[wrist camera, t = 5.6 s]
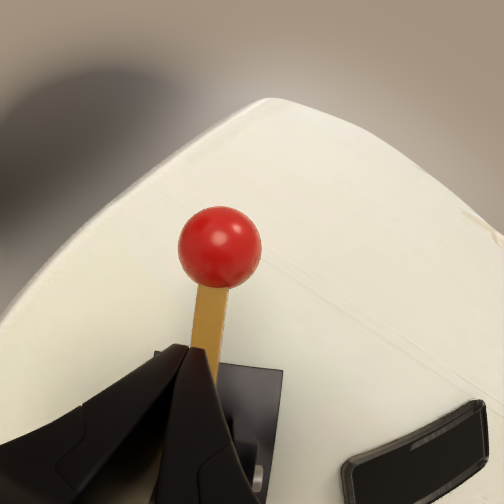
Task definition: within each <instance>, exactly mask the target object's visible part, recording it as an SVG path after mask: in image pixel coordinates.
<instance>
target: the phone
mask: <svg viewBox="0 0 504 504" xmlns="http://www.w3.org/2000/svg"><path fill="white" fill-rule="evenodd" d="M488 458H489V438H488V423H487V413H486V405H485V402H484V401H483V400H472V401H469V402H468V403H466V404H465V405H463V406H461V407H460V408H458V409H456V410H455V411H453V412H451V413H449V414H448V415H446V416H444V417H442V418H440V419H439V420H437V421H435V422H433V423H431V424H429V425H427V426H425V427H423V428H421V429H419V430H417V431H415V432H413V433H411V434H409V435H407V436H404V437H402V438H400V439H398V440H395V441H393V442H391V443H388V444H386V445H383V446H381V447H379V448H376V449H373V450H371V451H368V452H365V453H363V454H360V455H357V456H354V457H352V458H350V459H349V460H347V461H346V462H345V464H344V465H343V467H342V470H341V475H342V482H343V489H344V496H345V503H346V504H431V503H433V502H434V501H436V500H438V499H439V498H441V497H443V496H444V495H446V494H447V493H449V492H450V491H452V490H453V489H455V488H456V487H458V486H459V485H461V484H462V483H464V482H465V481H466V480H468V479H469V478H471V477H472V476H473V475H475V474H476V473H477V472H479V471H480V470H481V469H482V468H483V467H484V466H485V465H486V463H487V461H488Z"/></svg>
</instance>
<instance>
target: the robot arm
mask: <svg viewBox="0 0 504 504" xmlns="http://www.w3.org/2000/svg"><path fill="white" fill-rule="evenodd" d="M157 478H158V481H157ZM156 481H157V488H156V496H155V503H154V504H261V503H260V502H259V500H258V498H257V497H256V495H255V493H254V491H253V489H252V487H251V486H250V484H249V482H248V480H247V478H246V476H245V473H244V471H243V469H242V466H241V464H240V461H239V459H238V456H237V453H236V450H235V447H234V444H232V439H231V436H230V433H229V429H228V426H227V423H226V420H225V417H224V413H223V410H222V407H221V404H220V400H219V397H218V393H217V390H216V387H215V383H214V380H213V376H212V372H211V369H210V365H209V362H208V358H207V354H206V351H205V349H203V348H197V347H190V348H189V347H188V346H186V345H181V344H172V345H171V346H169V347H168V348H166V349H165V350H164V351H162V352H161V353H159V354H158V355H156V356H155V357H153V358H152V359H150V360H149V361H147V362H146V363H144V364H143V365H141V366H140V367H138V368H137V369H135V370H134V371H132V372H131V373H129V374H128V375H126V376H125V377H123V378H122V379H120V380H119V381H117V382H116V383H114V384H113V385H111V386H109V387H108V388H106V389H105V390H103V391H102V392H100V393H99V394H97V395H96V396H94V397H92V398H91V399H89V400H88V401H86V402H85V403H83V404H82V406H81V405H80V406H78V407H76V408H75V409H73V410H72V411H70V412H68V413H67V414H65V415H63V416H62V417H60V418H58V419H56V420H55V421H53V422H51V423H49V424H47V425H45V426H43V427H41V428H39V429H37V430H35V431H32V432H30V433H28V434H25V435H23V436H21V437H18V438H16V439H14V440H11V441H9V442H7V443H4V444H2V445H0V504H148V503H149V500H150V497H151V495H152V492H153V489H154V486H155V484H156Z"/></svg>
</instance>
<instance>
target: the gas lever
mask: <svg viewBox="0 0 504 504" xmlns="http://www.w3.org/2000/svg"><path fill="white" fill-rule="evenodd" d="M261 249H262V248H261V239H260V235H259V233H258V230H257V228H256V226H255V225H254V224H253V222H252V221H251V220H250V219H249V218H248V217H247V216H246V215H244V214H243V213H241V212H240V211H238V210H236V209H233V208H230V207H224V206H216V207H210V208H207V209H204V210H202V211H200V212H198V213H196V214H195V215H194V216H193V217H191V218H190V219H189V220H188V222H187V223H186V224H185V226H184V227H183V229H182V231H181V234H180V237H179V241H178V254H179V259H180V263H181V265H182V267H183V269H184V271H185V272H186V274H187V275H188V276H189V277H190V278H191V279H192V280H193V281H194V282H196V283H197V284H198V290H197V297H196V305H195V312H194V320H193V329H192V337H191V346H190V347H197V348H203V349H205V351H206V354H207V358H208V362H209V365H210V369H211V372H212V376H213V380H214V383H215V387H216V385H217V377H218V369H219V361H220V353H221V345H222V338H223V330H224V322H225V315H226V307H227V300H228V293H229V289H231V288H234V287H237V286H239V285H241V284H242V283H244V282H245V281H246V280H247V279H249V278H250V277H251V275H252V274H253V273H254V271H255V270H256V268H257V266H258V264H259V261H260V257H261Z"/></svg>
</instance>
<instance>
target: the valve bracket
mask: <svg viewBox="0 0 504 504" xmlns="http://www.w3.org/2000/svg"><path fill="white" fill-rule="evenodd" d="M159 353H161V352H160V351H155V352H154V357H155V356H156V355H158V354H159ZM282 379H283V370H276V369H267V368H258V367H249V366H241V365H234V364H227V363H220V362H219V369H218V377H217V385H216V390H217V393H218V397H219V400H220V404H221V407H222V410H223V413H224V417H225V420H226V423H227V426H228V429H229V433H230V436H231V439H232V444H234V447H235V450H236V453H237V456H238V459H239V461H240V464H241V466H242V469H243V471H244V473H245V476H246V478H247V480H248V482H249V484H250V486H251V487H252V489H253V491H254V493H255V495H256V497H257V498H258V500H259V502H260V503H261V504H266V497H267V491H268V485H269V479H270V472H271V465H272V459H273V451H274V444H275V437H276V429H277V422H278V414H279V405H280V397H281V388H282ZM157 481H158V478H157ZM157 481H156V484H155V486H154V489H153V492H152V495H151V497H150V500H149V503H148V504H154V503H155V496H156V488H157Z"/></svg>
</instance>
